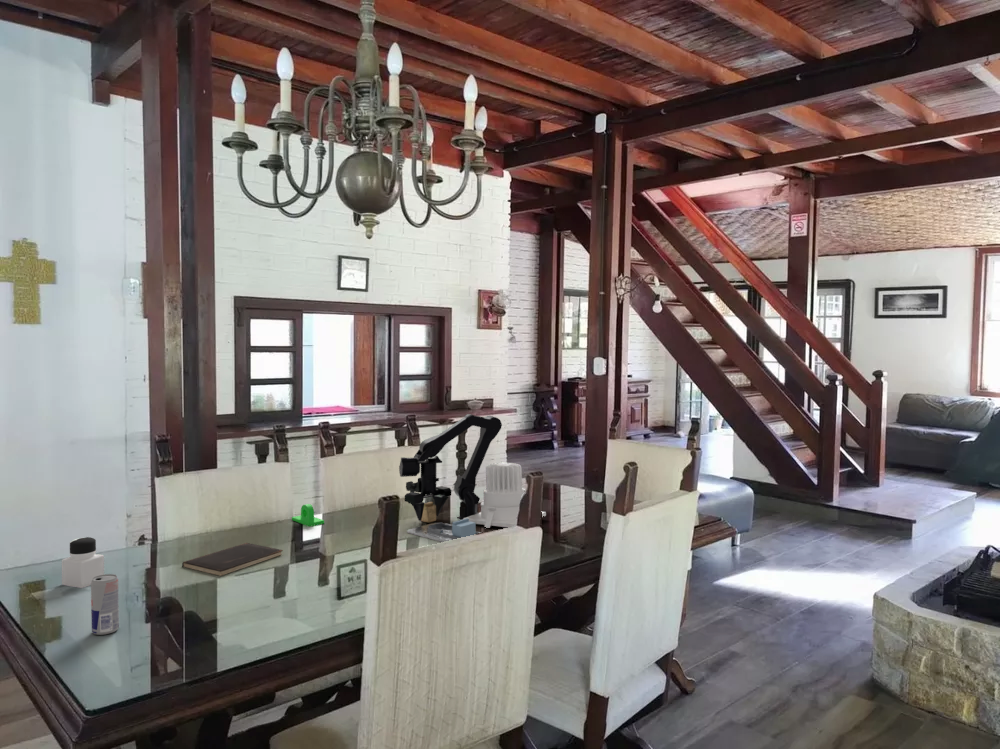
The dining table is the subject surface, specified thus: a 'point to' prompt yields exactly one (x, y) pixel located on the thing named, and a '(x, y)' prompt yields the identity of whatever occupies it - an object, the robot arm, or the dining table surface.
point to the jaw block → (429, 512)
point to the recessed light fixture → (500, 496)
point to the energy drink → (104, 604)
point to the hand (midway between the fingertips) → (428, 518)
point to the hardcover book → (232, 559)
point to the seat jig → (435, 531)
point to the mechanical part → (308, 516)
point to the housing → (463, 528)
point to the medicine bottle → (82, 563)
